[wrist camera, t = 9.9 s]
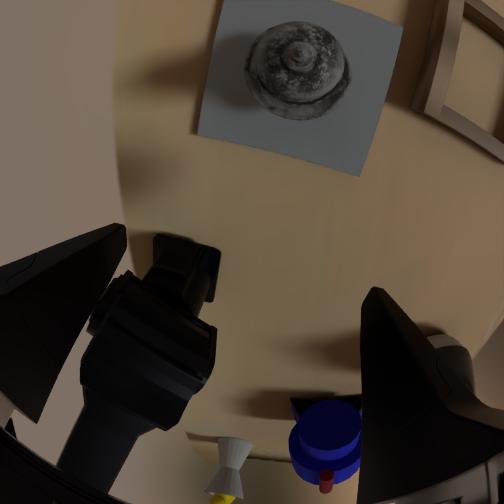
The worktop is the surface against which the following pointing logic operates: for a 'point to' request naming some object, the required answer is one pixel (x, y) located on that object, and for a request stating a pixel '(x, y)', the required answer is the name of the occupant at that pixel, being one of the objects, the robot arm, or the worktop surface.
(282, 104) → the salt shaker
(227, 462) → the lava lamp
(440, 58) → the walnut holder
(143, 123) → the worktop surface
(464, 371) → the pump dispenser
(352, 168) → the slate coaster
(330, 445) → the alarm clock
